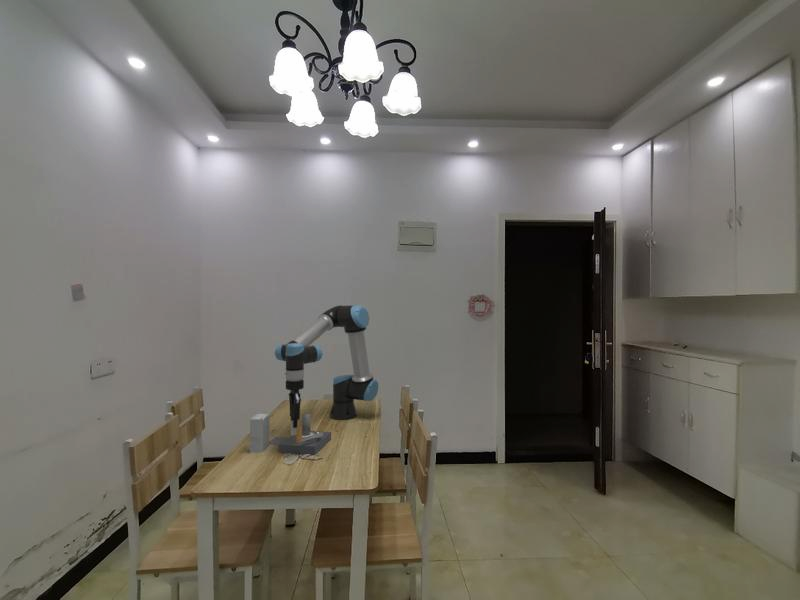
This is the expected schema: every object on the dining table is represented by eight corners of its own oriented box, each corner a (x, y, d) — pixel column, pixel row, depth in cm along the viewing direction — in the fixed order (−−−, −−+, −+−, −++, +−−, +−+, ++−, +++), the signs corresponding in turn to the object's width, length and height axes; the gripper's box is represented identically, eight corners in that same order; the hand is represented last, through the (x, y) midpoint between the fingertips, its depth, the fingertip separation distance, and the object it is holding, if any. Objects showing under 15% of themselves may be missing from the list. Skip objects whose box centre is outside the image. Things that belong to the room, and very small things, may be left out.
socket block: (298, 438, 188) (298, 426, 188) (330, 440, 185) (331, 427, 185) (279, 454, 168) (279, 440, 168) (314, 456, 166) (314, 442, 166)
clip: (291, 440, 168) (291, 425, 168) (318, 432, 178) (318, 419, 178) (298, 442, 165) (298, 428, 165) (325, 435, 175) (325, 421, 175)
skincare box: (256, 446, 177) (256, 413, 178) (269, 446, 177) (270, 413, 177) (249, 453, 169) (249, 418, 169) (263, 453, 169) (263, 418, 169)
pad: (276, 438, 189) (276, 436, 189) (295, 439, 187) (295, 437, 187) (265, 445, 179) (265, 443, 179) (286, 446, 177) (286, 445, 177)
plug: (302, 442, 181) (302, 411, 181) (316, 443, 180) (316, 412, 180) (295, 448, 174) (295, 416, 174) (310, 449, 173) (310, 416, 173)
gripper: (282, 377, 175) (282, 431, 175) (288, 383, 164) (288, 440, 163) (300, 376, 179) (299, 429, 178) (307, 381, 167) (307, 437, 167)
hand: (294, 434), depth 171 cm, fingers closed
